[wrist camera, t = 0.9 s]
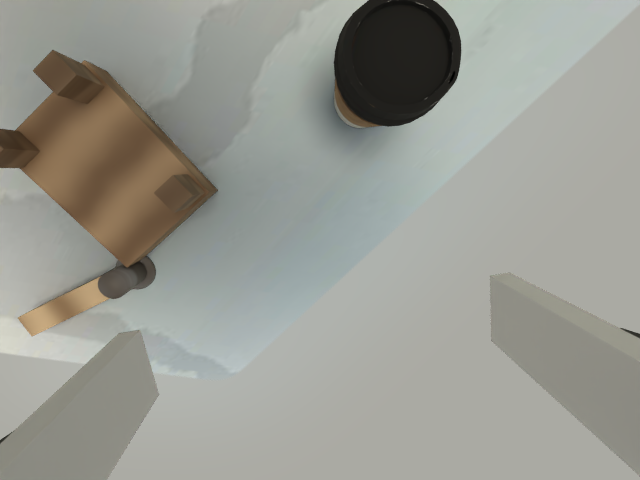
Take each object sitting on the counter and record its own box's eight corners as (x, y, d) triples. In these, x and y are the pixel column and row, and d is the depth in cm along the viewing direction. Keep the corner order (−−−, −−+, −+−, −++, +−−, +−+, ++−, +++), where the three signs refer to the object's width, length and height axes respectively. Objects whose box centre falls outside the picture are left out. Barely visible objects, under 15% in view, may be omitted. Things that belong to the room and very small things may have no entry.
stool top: (3, 173, 35) (-75, 175, 28) (106, 71, 33) (52, 44, 26) (137, 295, 39) (99, 325, 31) (234, 208, 37) (218, 218, 30)
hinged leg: (137, 256, 37) (116, 268, 33) (151, 277, 38) (131, 291, 33) (34, 307, 38) (-1, 325, 33) (49, 326, 38) (17, 347, 34)
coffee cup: (378, 152, 37) (430, 142, 22) (310, 120, 36) (317, 87, 21) (412, 78, 35) (491, 16, 21) (341, 43, 34) (372, -50, 20)
